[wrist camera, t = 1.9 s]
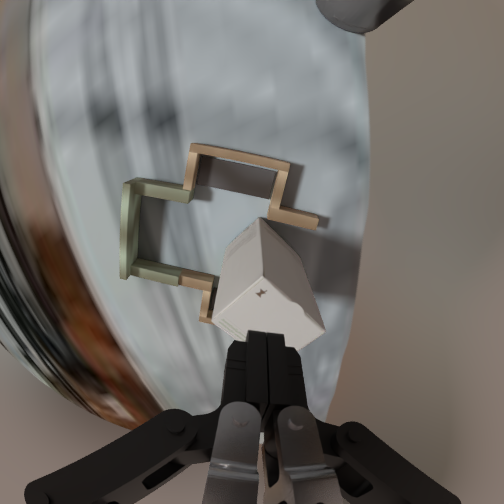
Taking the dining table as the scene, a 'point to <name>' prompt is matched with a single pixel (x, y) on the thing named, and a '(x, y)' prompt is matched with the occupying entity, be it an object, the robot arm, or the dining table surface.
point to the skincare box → (265, 289)
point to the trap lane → (209, 175)
